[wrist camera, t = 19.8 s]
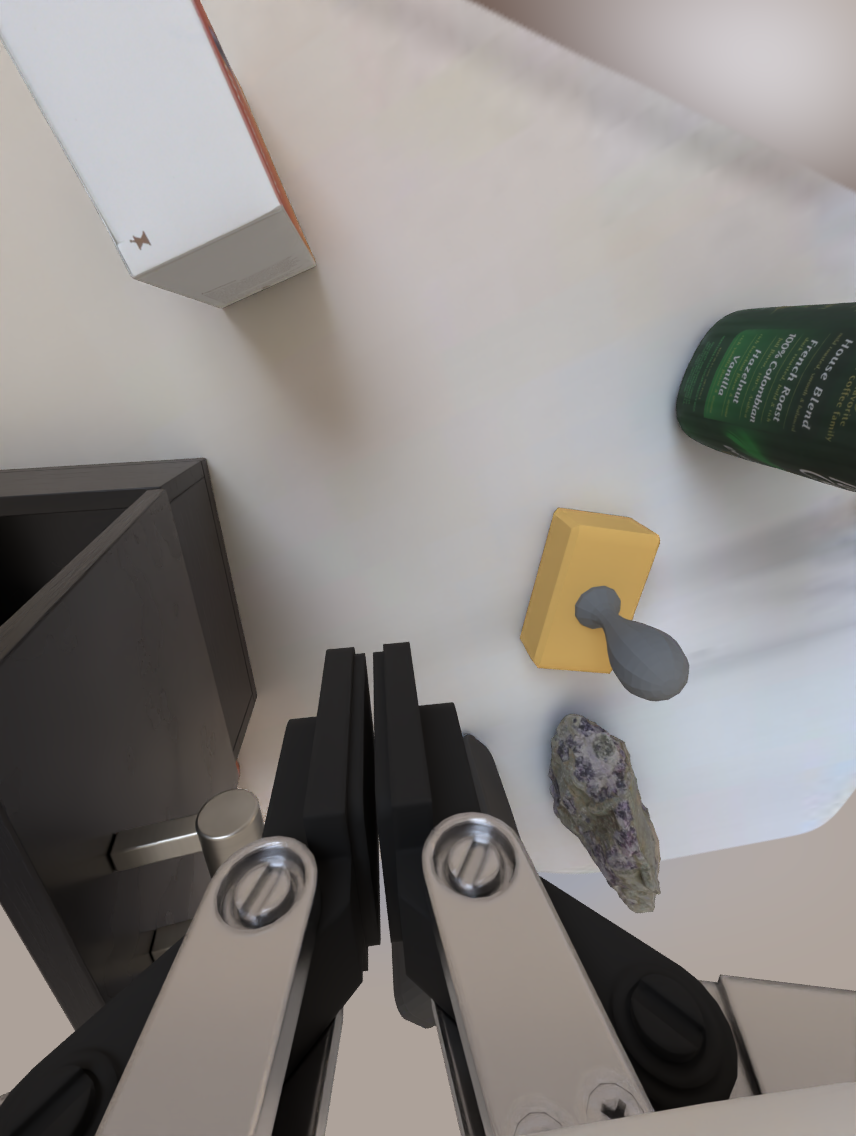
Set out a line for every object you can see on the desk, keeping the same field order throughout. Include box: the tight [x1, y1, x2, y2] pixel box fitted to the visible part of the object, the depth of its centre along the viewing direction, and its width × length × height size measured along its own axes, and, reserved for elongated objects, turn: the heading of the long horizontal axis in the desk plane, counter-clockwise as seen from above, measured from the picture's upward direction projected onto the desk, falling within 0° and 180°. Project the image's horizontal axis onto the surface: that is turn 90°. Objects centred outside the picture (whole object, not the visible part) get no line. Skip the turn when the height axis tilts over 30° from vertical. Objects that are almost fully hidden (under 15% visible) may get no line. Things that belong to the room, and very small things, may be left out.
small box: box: [0, 0, 316, 308], centre depth 19 cm, size 8×6×10 cm
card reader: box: [392, 735, 521, 1028], centre depth 33 cm, size 9×4×15 cm, turn 133°
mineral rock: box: [549, 714, 661, 913], centre depth 37 cm, size 13×11×10 cm
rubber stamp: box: [520, 508, 689, 701], centre depth 29 cm, size 10×6×12 cm, turn 170°
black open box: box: [0, 458, 257, 762], centre depth 28 cm, size 15×17×7 cm
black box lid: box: [0, 489, 264, 1031], centre depth 19 cm, size 16×17×4 cm
